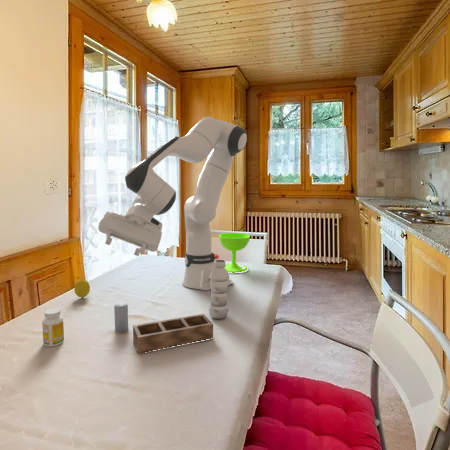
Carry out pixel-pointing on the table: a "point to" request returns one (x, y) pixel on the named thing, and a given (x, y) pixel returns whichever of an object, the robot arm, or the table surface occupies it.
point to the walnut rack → (171, 332)
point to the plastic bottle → (219, 290)
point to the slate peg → (121, 317)
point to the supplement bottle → (53, 328)
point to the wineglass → (234, 248)
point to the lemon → (82, 288)
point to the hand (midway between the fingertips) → (122, 248)
